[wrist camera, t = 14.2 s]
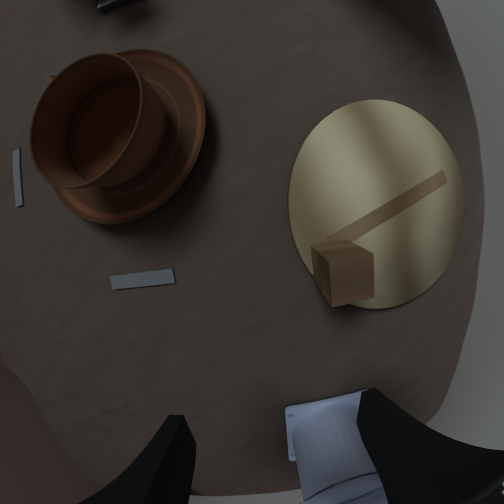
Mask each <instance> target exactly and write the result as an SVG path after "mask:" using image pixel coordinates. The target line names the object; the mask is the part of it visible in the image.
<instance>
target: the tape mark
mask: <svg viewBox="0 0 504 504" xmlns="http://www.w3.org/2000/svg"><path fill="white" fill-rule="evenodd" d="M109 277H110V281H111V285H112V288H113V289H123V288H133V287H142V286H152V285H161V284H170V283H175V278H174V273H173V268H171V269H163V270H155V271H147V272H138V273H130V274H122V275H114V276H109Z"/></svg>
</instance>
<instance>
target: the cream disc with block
mask: <svg viewBox="0 0 504 504" xmlns="http://www.w3.org/2000/svg"><path fill="white" fill-rule="evenodd" d="M464 215H465V197H464V187H463V182H462V177H461V173H460V170H459V167H458V164H457V161H456V159H455V157H454V154H453V153H452V151H451V149H450V147H449V145H448V144H447V142H446V141H445V139H444V138H443V136H442V135H441V134H440V132H439V131H438V130H437V129H436V128H435V127H434V126H433V125H432V124H431V123H430V122H429V121H428V120H427V119H425V118H424V117H423V116H421V115H420V114H419V113H417V112H416V111H414V110H412V109H410V108H408V107H406V106H404V105H401V104H398V103H395V102H391V101H385V100H364V101H358V102H354V103H351V104H348V105H345V106H343V107H341V108H339V109H337V110H336V111H334V112H333V113H331V114H330V115H328V116H327V117H326V118H324V119H323V120H322V121H321V122H320V123H319V124H318V125H317V126H316V127H315V128H314V129H313V130H312V131H311V133H310V134H309V135H308V137H307V138H306V140H305V141H304V143H303V145H302V146H301V148H300V150H299V152H298V154H297V157H296V159H295V162H294V165H293V168H292V172H291V176H290V181H289V188H288V217H289V223H290V229H291V233H292V236H293V239H294V243H295V245H296V248H297V250H298V252H299V254H300V257H301V259H302V260H303V262H304V263H305V265H306V267H307V268H308V270H309V271H310V272H311V274H312V275H313V276H314V283H315V284H316V286H317V287H318V289H319V290H320V291H321V293H322V294H323V295H324V297H325V298H326V300H327V301H328V302H329V304H330V305H331V307H336V306H341V305H345V304H352V305H355V306H359V307H364V308H371V309H382V308H389V307H394V306H398V305H401V304H404V303H406V302H408V301H410V300H413V299H414V298H416V297H418V296H419V295H421V294H422V293H424V292H425V291H426V290H427V289H428V288H430V287H431V286H432V285H433V284H434V283H435V282H436V281H437V280H438V279H439V277H440V276H441V275H442V274H443V272H444V271H445V270H446V268H447V266H448V265H449V263H450V261H451V260H452V258H453V256H454V253H455V251H456V249H457V246H458V243H459V240H460V237H461V233H462V229H463V223H464Z"/></svg>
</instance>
